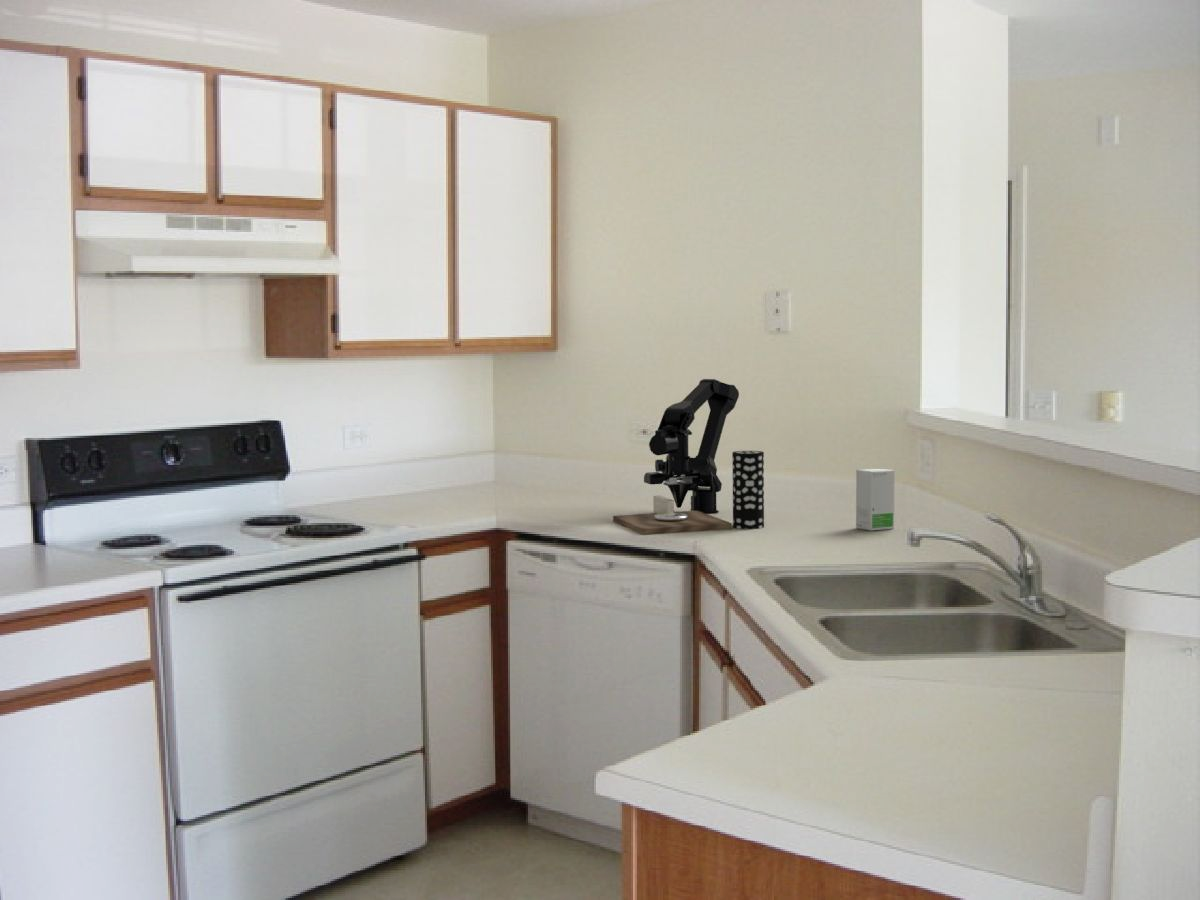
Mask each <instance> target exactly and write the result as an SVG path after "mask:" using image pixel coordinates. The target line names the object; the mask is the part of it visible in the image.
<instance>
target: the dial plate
mask: <svg viewBox="0 0 1200 900" xmlns="http://www.w3.org/2000/svg"><path fill="white" fill-rule="evenodd" d="M674 513H682V514H687V515H688V518H687V519H685V520H678V521H662V520H656V519H654V515H656V514H655V513H654V512H650V513H638V514H623V515H622V514H621V515H612V521H613V522H614V523H616V524H619V525H621V526H622V527H625V528H627V529H629V530H631V531H633V532H636V533H637V534H638V533H639V534H640V535H642V536H643V535H659V534H671V533H672V534H673V533H688V532H703V531H716V530H729V529H730V530H732V529H733V528H732V527H733V522H730V521H727V520H724V519H721V518H718V517H716V516H714V515H712V514H711V515H710V514H709V513H702V512H700V511H690V510H686V511H683V510H682V511H674Z"/></svg>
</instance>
